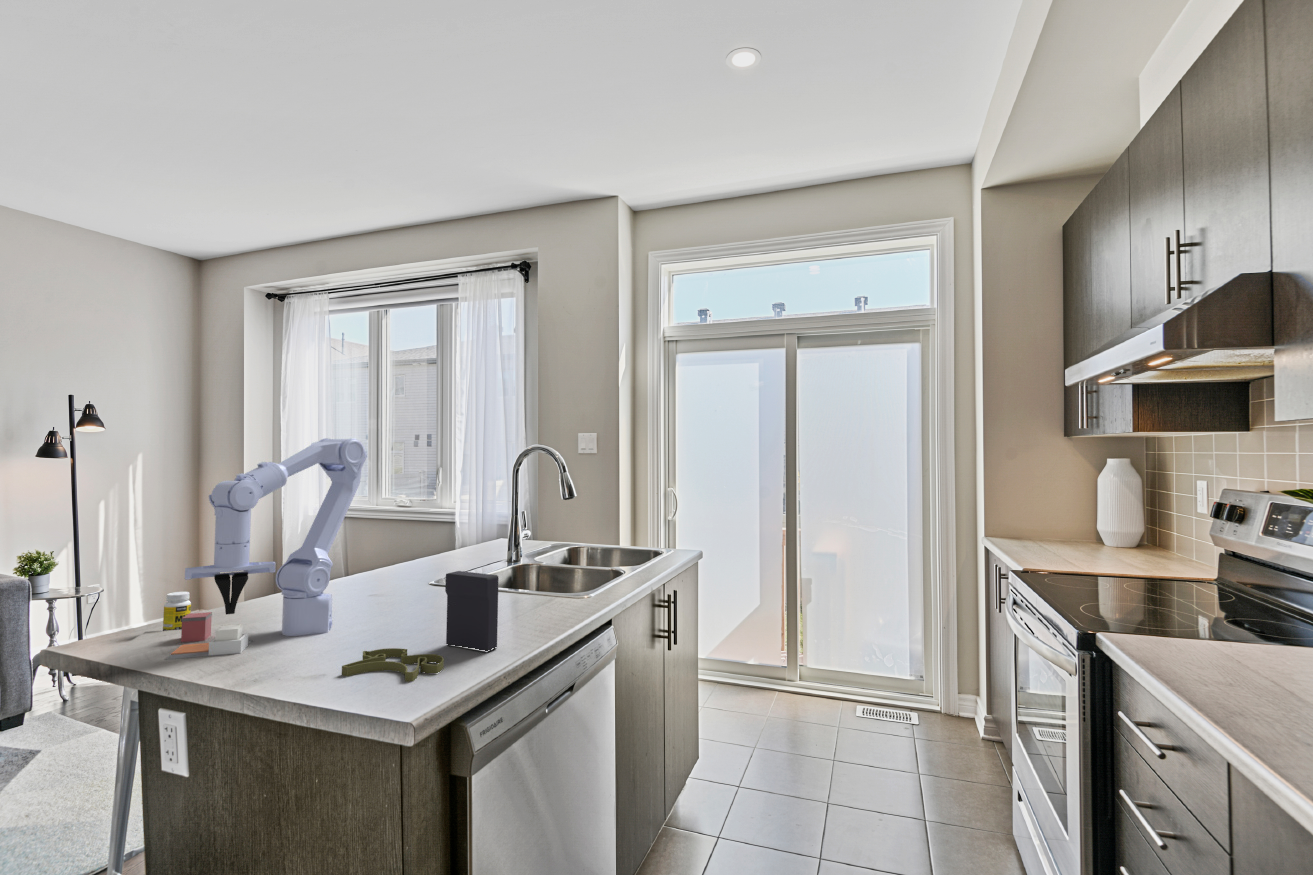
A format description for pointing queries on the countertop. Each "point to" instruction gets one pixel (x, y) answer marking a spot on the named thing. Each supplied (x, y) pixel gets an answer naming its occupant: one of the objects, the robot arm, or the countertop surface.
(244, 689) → the countertop surface
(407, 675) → the cookie cutter
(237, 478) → the robot arm
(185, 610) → the supplement bottle
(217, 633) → the button
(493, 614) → the charcoal upright slab
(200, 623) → the block
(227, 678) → the countertop surface
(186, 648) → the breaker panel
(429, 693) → the countertop surface
